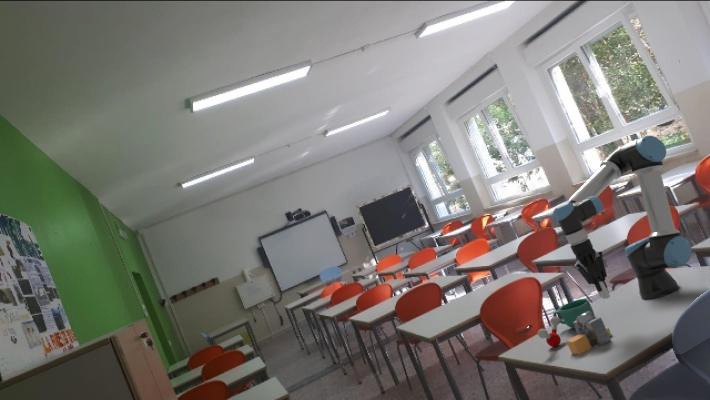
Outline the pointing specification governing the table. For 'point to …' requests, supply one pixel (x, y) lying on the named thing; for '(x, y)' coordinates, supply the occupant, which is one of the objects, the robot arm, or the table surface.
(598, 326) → the housing
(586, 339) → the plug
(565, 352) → the table surface
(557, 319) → the molecular model
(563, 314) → the mug
